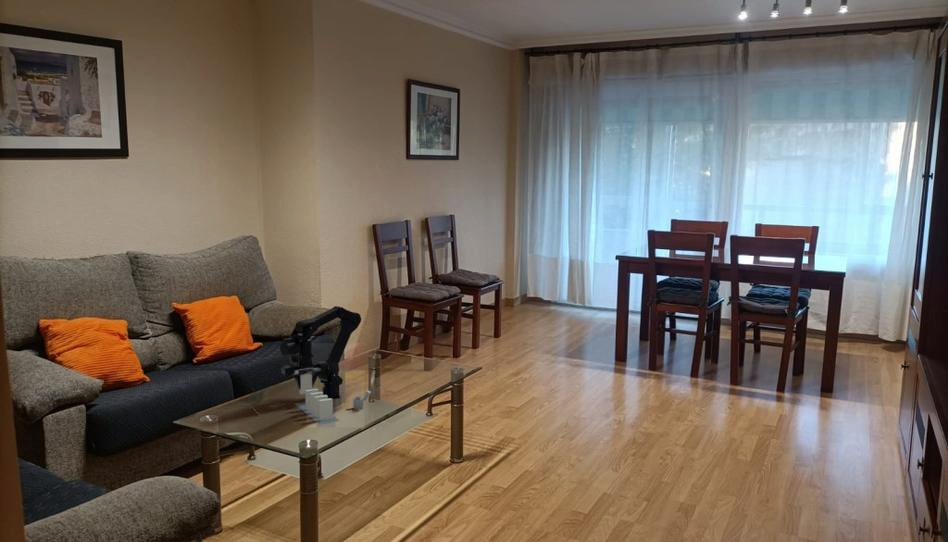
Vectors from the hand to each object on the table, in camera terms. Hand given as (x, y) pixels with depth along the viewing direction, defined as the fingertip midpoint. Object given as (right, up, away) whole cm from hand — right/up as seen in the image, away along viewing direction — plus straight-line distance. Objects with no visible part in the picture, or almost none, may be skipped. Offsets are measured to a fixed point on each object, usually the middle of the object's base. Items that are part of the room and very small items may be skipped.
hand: (305, 388), depth 294 cm
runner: (+6, -8, -9) cm, 14 cm away
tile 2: (+7, -8, -10) cm, 14 cm away
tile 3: (+10, -9, -14) cm, 19 cm away
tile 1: (+4, -8, -6) cm, 10 cm away
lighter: (+24, -8, -4) cm, 26 cm away
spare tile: (0, -2, 0) cm, 2 cm away
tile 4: (+12, -9, -18) cm, 24 cm away
